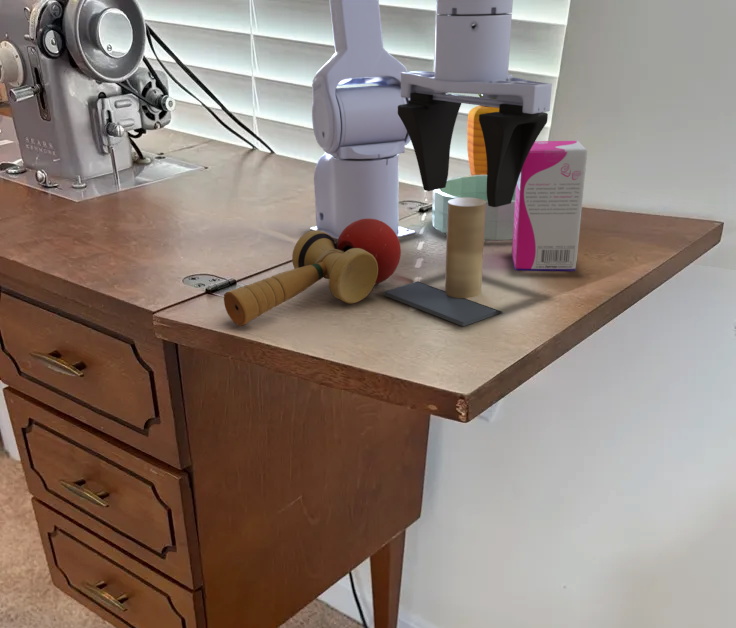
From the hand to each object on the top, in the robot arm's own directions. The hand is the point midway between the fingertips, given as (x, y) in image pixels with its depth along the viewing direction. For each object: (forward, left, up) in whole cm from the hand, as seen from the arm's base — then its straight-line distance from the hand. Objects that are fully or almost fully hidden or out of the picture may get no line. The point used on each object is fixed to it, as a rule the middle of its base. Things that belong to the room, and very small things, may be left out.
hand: (465, 196), depth 66 cm
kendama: (-8, -10, -9) cm, 16 cm away
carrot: (-24, +28, -9) cm, 38 cm away
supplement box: (-1, +12, -9) cm, 15 cm away
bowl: (-14, +19, -9) cm, 25 cm away
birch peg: (0, 0, -8) cm, 8 cm away
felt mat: (0, 0, -9) cm, 9 cm away
